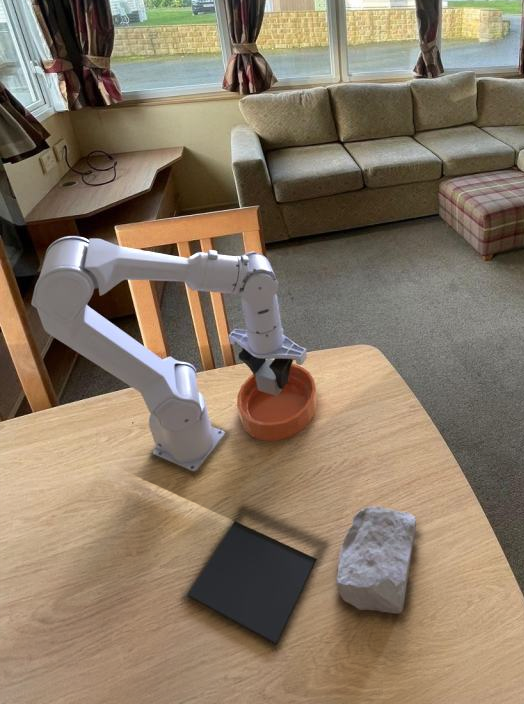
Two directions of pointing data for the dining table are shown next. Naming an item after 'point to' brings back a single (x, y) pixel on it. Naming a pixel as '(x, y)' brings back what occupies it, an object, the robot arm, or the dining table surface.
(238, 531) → the mat
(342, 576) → the stone block
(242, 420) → the bowl
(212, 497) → the dining table surface
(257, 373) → the block
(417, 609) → the dining table surface
